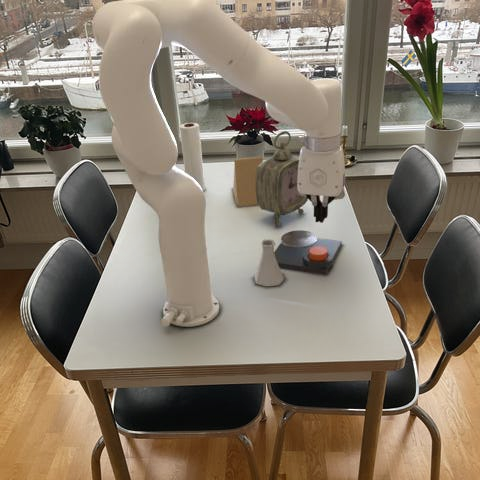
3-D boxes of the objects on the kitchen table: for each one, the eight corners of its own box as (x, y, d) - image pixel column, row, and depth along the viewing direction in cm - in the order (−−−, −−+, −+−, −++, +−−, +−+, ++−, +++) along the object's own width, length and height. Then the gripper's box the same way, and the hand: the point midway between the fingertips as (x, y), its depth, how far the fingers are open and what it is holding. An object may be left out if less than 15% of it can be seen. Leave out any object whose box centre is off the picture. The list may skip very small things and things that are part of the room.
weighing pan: (311, 250, 134) (311, 248, 133) (276, 245, 137) (276, 244, 137) (321, 234, 141) (321, 232, 140) (287, 229, 144) (287, 228, 144)
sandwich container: (257, 186, 179) (256, 141, 170) (264, 204, 166) (263, 156, 157) (232, 188, 178) (229, 143, 169) (237, 207, 166) (234, 159, 157)
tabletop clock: (278, 231, 150) (277, 141, 136) (254, 223, 155) (250, 136, 141) (309, 213, 159) (311, 127, 144) (285, 206, 164) (284, 122, 149)
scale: (328, 275, 129) (329, 264, 127) (267, 266, 134) (267, 256, 132) (344, 245, 141) (344, 235, 139) (287, 238, 146) (287, 228, 144)
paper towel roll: (194, 185, 182) (188, 121, 170) (208, 188, 179) (202, 123, 167) (181, 192, 178) (172, 127, 165) (195, 196, 175) (187, 129, 162)
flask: (281, 288, 125) (281, 250, 120) (251, 286, 127) (249, 248, 121) (285, 272, 131) (285, 235, 125) (256, 271, 133) (255, 234, 127)
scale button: (324, 262, 129) (324, 256, 128) (307, 260, 130) (307, 253, 129) (329, 254, 132) (329, 247, 131) (312, 251, 134) (312, 245, 133)
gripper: (283, 145, 115) (285, 223, 126) (353, 149, 110) (348, 230, 121) (294, 134, 121) (294, 210, 131) (360, 138, 115) (355, 216, 126)
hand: (320, 219), depth 126 cm, fingers closed
